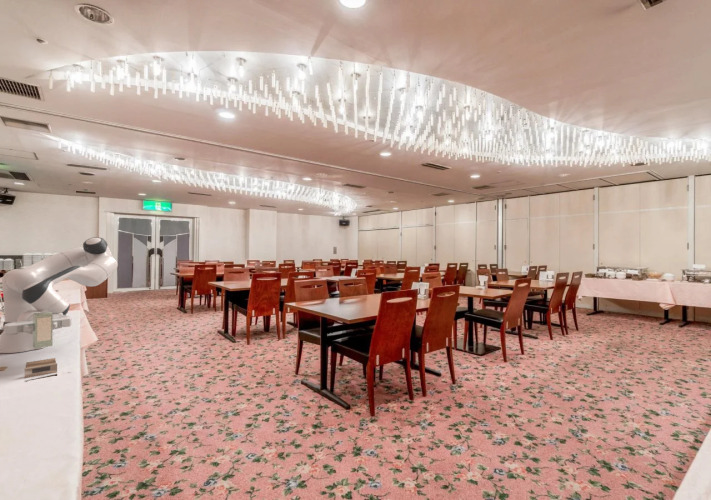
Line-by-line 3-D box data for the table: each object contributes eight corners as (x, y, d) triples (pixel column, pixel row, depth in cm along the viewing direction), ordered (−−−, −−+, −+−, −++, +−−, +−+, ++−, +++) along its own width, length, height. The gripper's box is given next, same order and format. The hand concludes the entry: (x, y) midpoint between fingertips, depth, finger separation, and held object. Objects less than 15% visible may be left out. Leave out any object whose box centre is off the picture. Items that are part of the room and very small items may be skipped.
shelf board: (26, 365, 142) (26, 355, 142) (55, 360, 148) (55, 351, 148) (24, 381, 124) (24, 369, 124) (57, 375, 131) (57, 364, 131)
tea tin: (32, 346, 134) (33, 313, 134) (49, 343, 138) (49, 311, 138) (35, 348, 131) (35, 314, 131) (52, 345, 135) (52, 313, 135)
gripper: (0, 319, 135) (5, 324, 126) (66, 312, 151) (75, 316, 142) (0, 335, 135) (5, 341, 126) (66, 326, 151) (75, 331, 142)
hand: (42, 327), depth 134 cm, fingers closed on tea tin, 5 cm apart
